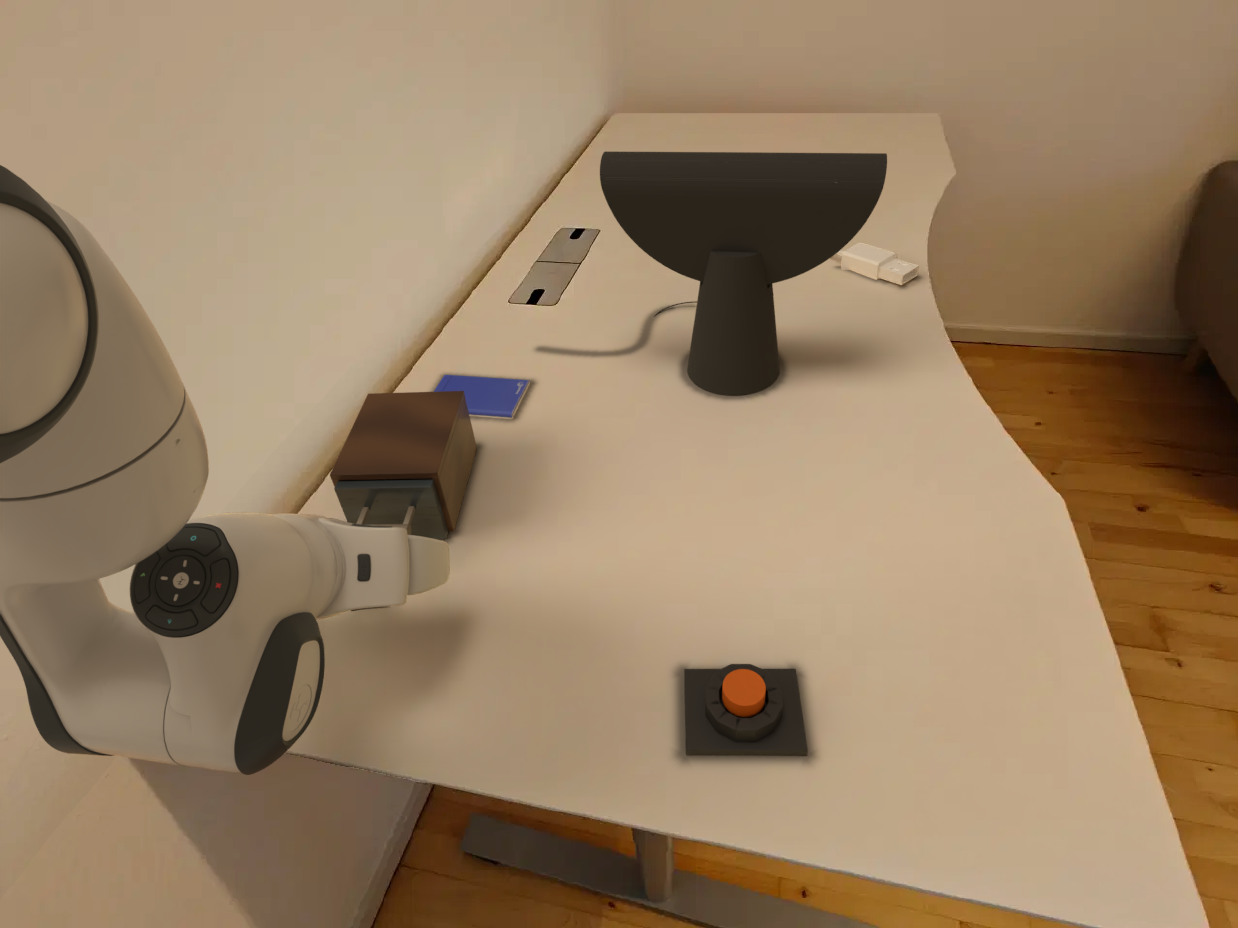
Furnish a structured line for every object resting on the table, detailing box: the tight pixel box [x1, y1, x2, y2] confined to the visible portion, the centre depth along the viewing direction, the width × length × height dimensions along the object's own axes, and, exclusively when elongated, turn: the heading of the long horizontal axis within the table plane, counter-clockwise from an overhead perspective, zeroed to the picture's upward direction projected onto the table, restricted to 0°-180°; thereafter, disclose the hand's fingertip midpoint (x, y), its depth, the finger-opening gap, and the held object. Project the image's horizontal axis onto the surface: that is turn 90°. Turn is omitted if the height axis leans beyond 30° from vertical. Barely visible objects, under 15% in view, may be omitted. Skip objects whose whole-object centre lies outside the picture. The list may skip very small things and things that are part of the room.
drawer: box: [334, 478, 449, 540], centre depth 90 cm, size 18×10×8 cm, turn 177°
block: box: [683, 663, 808, 757], centre depth 70 cm, size 8×10×4 cm
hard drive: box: [433, 374, 531, 420], centre depth 109 cm, size 2×8×12 cm
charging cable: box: [835, 241, 920, 286], centre depth 134 cm, size 5×32×3 cm, turn 41°
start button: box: [722, 669, 766, 717], centre depth 69 cm, size 4×4×2 cm
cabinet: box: [329, 391, 478, 533], centre depth 93 cm, size 15×12×10 cm
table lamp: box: [599, 151, 888, 397], centre depth 104 cm, size 40×28×30 cm
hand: (365, 560), depth 80 cm, fingers closed
